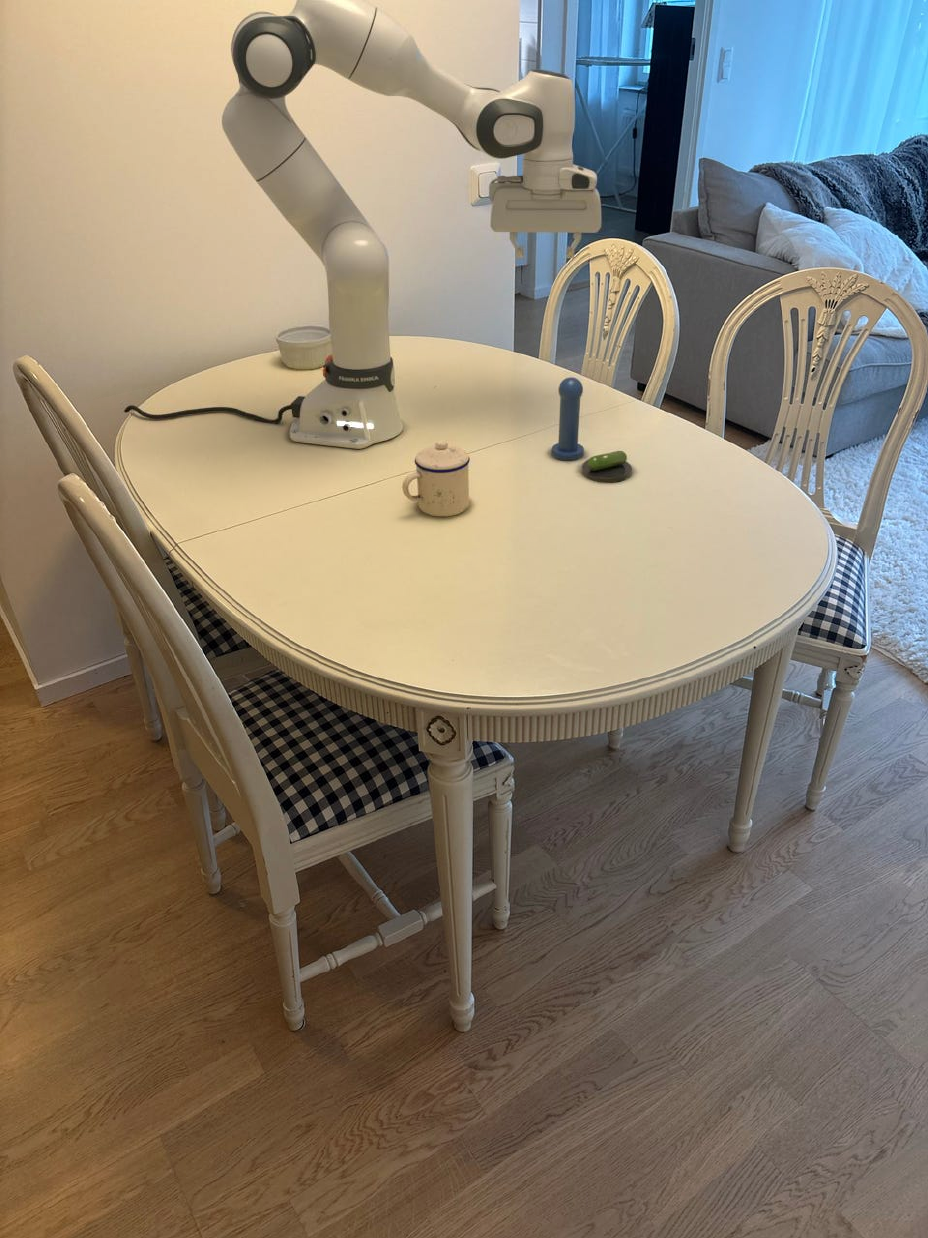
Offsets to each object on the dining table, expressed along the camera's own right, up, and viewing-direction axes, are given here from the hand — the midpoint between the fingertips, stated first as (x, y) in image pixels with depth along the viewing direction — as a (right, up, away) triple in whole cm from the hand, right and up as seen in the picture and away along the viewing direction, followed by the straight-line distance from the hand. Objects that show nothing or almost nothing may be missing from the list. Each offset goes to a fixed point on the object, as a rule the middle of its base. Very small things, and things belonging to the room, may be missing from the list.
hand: (544, 257), depth 170 cm
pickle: (+11, -41, -5) cm, 42 cm away
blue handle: (+4, -36, +2) cm, 37 cm away
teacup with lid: (-20, -49, -15) cm, 55 cm away
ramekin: (-52, -7, +47) cm, 70 cm away
